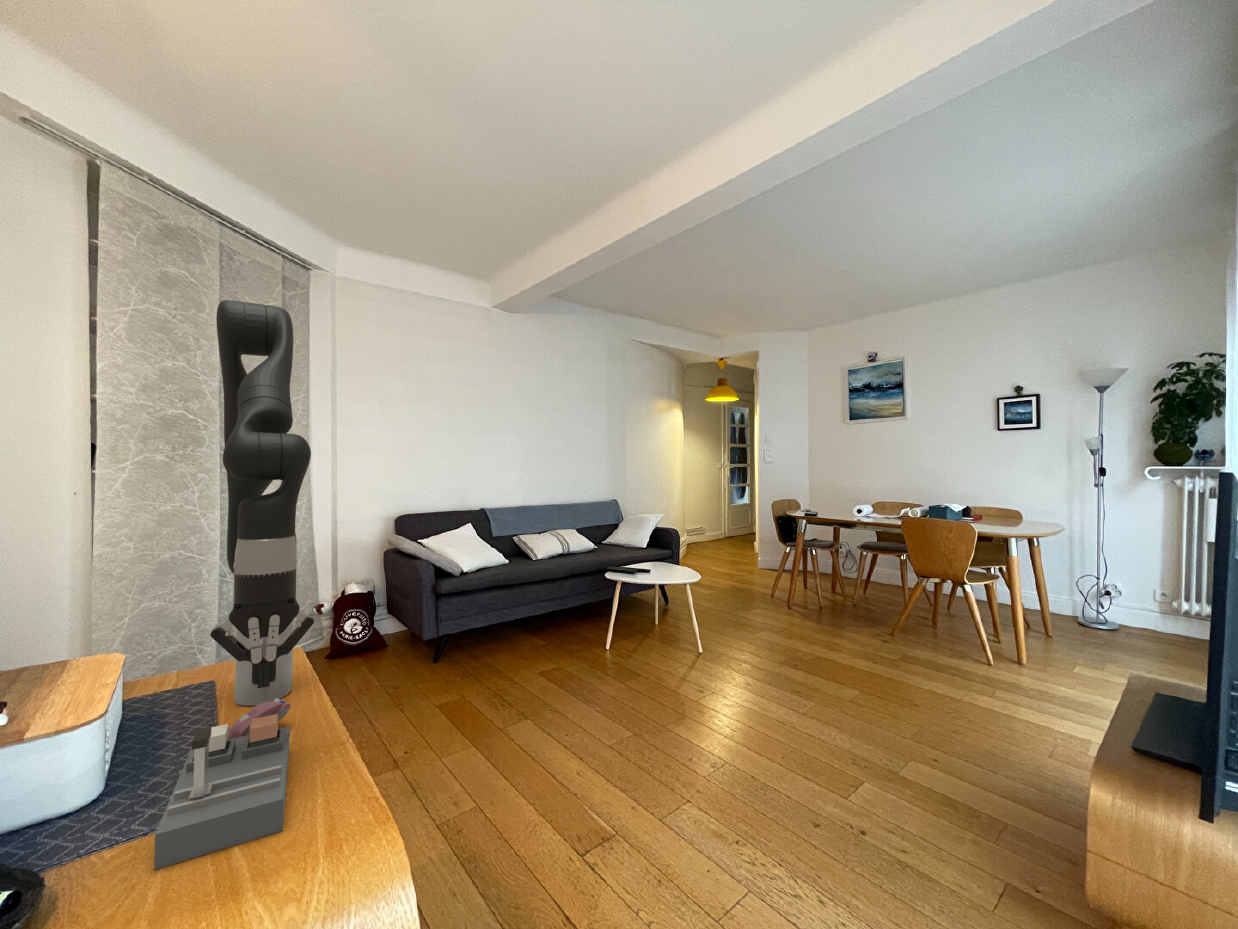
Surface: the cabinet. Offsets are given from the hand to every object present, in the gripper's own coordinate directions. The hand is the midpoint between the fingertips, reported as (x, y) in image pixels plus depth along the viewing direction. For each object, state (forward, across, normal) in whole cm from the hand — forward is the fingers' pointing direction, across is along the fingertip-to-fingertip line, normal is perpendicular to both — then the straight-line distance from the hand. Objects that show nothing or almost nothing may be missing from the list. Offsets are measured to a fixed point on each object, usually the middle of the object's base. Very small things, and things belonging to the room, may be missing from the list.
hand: (263, 685), depth 73 cm
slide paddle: (+9, +6, +10) cm, 14 cm away
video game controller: (+13, +2, -13) cm, 19 cm away
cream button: (+7, +6, 0) cm, 9 cm away
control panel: (+13, +3, +5) cm, 14 cm away
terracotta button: (+7, 0, 0) cm, 7 cm away
